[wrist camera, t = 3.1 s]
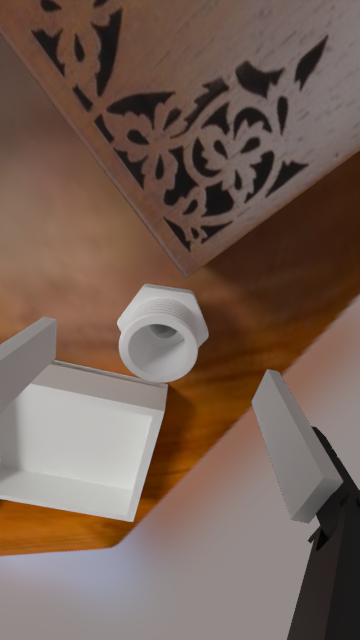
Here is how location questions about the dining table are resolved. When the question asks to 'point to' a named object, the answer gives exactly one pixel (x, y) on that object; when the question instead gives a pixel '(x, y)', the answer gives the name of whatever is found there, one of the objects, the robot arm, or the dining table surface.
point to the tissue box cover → (199, 103)
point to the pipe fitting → (161, 333)
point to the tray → (80, 440)
